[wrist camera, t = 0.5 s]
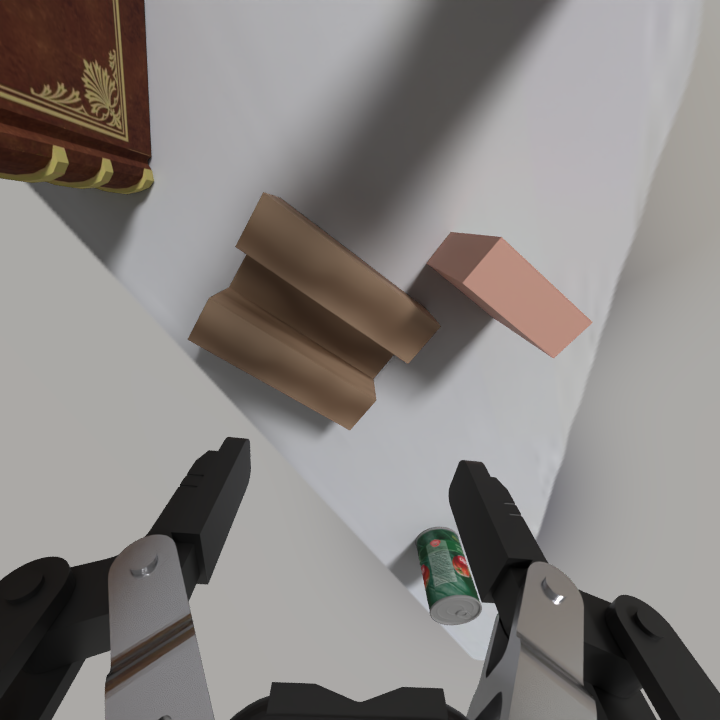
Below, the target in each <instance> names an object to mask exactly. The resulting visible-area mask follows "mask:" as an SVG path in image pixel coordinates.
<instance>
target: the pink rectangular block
mask: <svg viewBox="0 0 720 720" xmlns="http://www.w3.org/2000/svg"><path fill="white" fill-rule="evenodd" d="M427 264H428V265H429V266H431V267H432V268H433V269H434V270H435V271H437V272H438V273H439V274H440V275H442V276H443V277H444V278H445V279H446V280H448V281H449V282H450V283H451V284H453V285H454V286H455V287H456V288H457V289H459V290H460V291H461V292H462V293H464V294H465V295H466V296H467V297H468V298H470V299H471V300H472V301H473V302H475V303H476V304H477V305H478V306H479V307H481V308H482V309H483V310H484V311H486V312H487V313H488V314H489V315H490V316H492V317H493V318H494V319H496V320H497V321H499V322H500V323H502V324H503V325H505V326H506V327H508V328H509V329H511V330H512V331H514V332H515V333H516V334H518V335H519V336H521V337H522V338H524V339H525V340H527V341H528V342H530V343H531V344H533V345H534V346H536V347H537V348H539V349H540V350H542V351H543V352H545V353H546V354H547V355H549V356H550V357H552V358H554V357H556V356H557V355H558V354H559V353H560V352H561V351H562V350H563V349H564V348H565V347H566V346H567V345H569V344H570V343H571V342H572V341H573V340H574V339H575V338H576V337H577V336H578V335H579V334H581V333H582V332H583V331H584V330H585V329H586V328H587V327H588V326H589V325H590V324H591V323H593V322H592V321H591V320H590V319H589V318H587V317H586V316H585V315H584V314H583V313H582V312H581V311H580V310H579V309H578V308H577V307H576V306H575V305H574V304H573V303H571V302H570V301H569V300H568V299H567V298H566V297H565V296H564V295H563V294H562V293H561V292H560V291H559V290H558V289H556V288H555V287H554V286H553V285H552V284H551V283H550V282H549V281H548V280H547V279H546V278H545V277H544V276H543V275H542V274H540V273H539V272H538V271H537V270H536V269H535V268H534V267H533V266H532V265H531V264H530V263H529V262H528V261H527V260H525V259H524V258H523V257H522V256H521V255H520V254H519V253H518V252H517V251H516V250H515V249H514V248H513V247H512V246H511V245H509V244H508V243H507V242H506V241H505V240H504V239H503V238H502V237H495V236H485V235H475V234H465V233H455V232H451V233H450V234H449V235H448V236H447V238H446V239H445V240H444V241H443V243H442V244H441V245H440V247H439V248H438V249H437V250H436V252H435V253H434V254H433V256H432V257H431V258H430V259H429V261H428V262H427Z"/></svg>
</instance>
